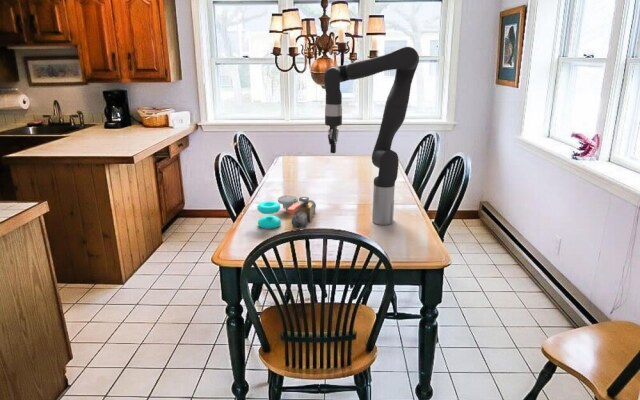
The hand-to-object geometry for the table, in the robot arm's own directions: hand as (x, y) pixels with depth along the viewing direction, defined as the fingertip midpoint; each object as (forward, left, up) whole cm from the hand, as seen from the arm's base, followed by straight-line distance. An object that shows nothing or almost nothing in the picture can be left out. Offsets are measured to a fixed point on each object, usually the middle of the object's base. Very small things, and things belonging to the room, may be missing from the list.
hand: (333, 152), depth 212 cm
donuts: (+24, +22, -29) cm, 44 cm away
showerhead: (+21, +2, -29) cm, 36 cm away
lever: (+12, +17, -21) cm, 30 cm away
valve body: (+11, +11, -29) cm, 33 cm away
